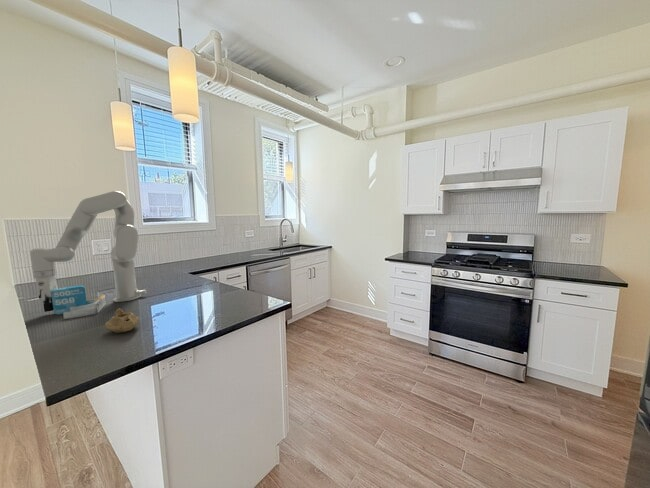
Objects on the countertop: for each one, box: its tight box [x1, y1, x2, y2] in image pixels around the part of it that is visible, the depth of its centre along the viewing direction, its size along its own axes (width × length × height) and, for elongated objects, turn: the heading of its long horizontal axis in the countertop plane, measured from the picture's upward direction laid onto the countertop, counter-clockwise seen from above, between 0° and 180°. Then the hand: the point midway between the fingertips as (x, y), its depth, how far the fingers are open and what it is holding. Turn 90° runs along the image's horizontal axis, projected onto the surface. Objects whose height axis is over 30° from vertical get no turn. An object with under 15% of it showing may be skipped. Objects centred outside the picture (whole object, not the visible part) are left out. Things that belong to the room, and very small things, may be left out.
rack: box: [62, 293, 107, 320], centre depth 134 cm, size 12×18×5 cm, turn 29°
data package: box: [52, 284, 87, 316], centre depth 134 cm, size 12×4×12 cm, turn 135°
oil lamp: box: [104, 307, 140, 334], centre depth 108 cm, size 11×15×8 cm
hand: (49, 310), depth 131 cm, fingers closed
